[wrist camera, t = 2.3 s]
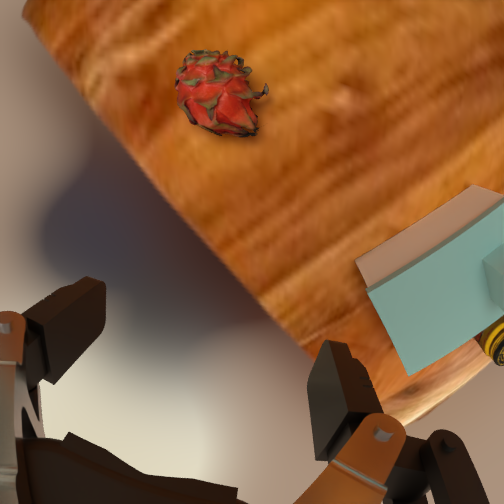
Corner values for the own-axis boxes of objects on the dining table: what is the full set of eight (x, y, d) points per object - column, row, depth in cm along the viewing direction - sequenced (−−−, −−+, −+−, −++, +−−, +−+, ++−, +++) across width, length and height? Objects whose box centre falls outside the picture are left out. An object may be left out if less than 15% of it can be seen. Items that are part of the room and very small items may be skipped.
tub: (472, 184, 30) (507, 196, 23) (495, 265, 34) (524, 289, 26) (354, 260, 36) (369, 289, 29) (392, 333, 39) (407, 368, 32)
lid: (508, 193, 23) (554, 211, 15) (525, 289, 26) (558, 319, 19) (365, 288, 29) (385, 334, 21) (406, 371, 32) (423, 416, 25)
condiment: (454, 302, 37) (490, 349, 26) (494, 275, 34) (536, 313, 23) (461, 334, 38) (492, 381, 27) (498, 308, 36) (534, 348, 25)
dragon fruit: (202, 57, 31) (259, 129, 35) (147, 89, 28) (209, 167, 33) (230, 21, 23) (298, 107, 28) (161, 51, 21) (240, 150, 25)
